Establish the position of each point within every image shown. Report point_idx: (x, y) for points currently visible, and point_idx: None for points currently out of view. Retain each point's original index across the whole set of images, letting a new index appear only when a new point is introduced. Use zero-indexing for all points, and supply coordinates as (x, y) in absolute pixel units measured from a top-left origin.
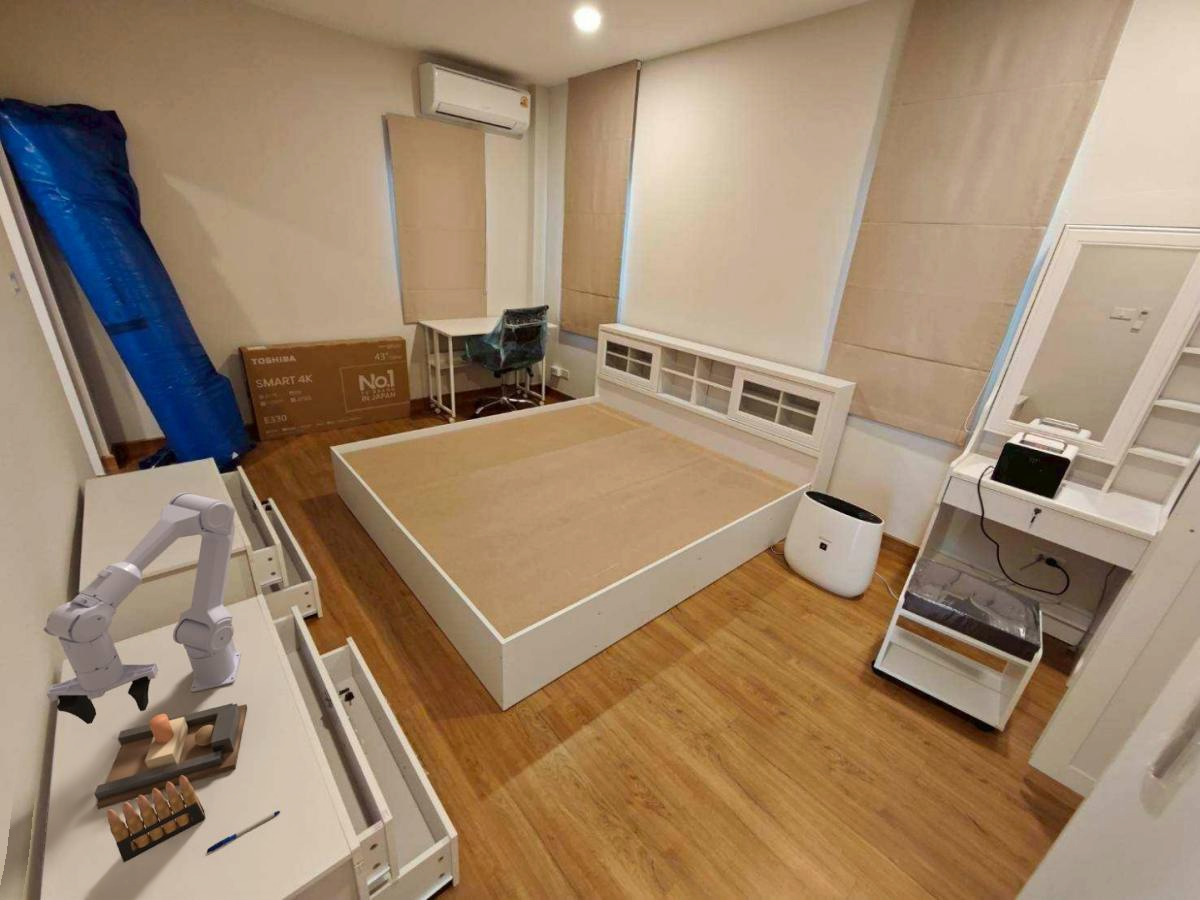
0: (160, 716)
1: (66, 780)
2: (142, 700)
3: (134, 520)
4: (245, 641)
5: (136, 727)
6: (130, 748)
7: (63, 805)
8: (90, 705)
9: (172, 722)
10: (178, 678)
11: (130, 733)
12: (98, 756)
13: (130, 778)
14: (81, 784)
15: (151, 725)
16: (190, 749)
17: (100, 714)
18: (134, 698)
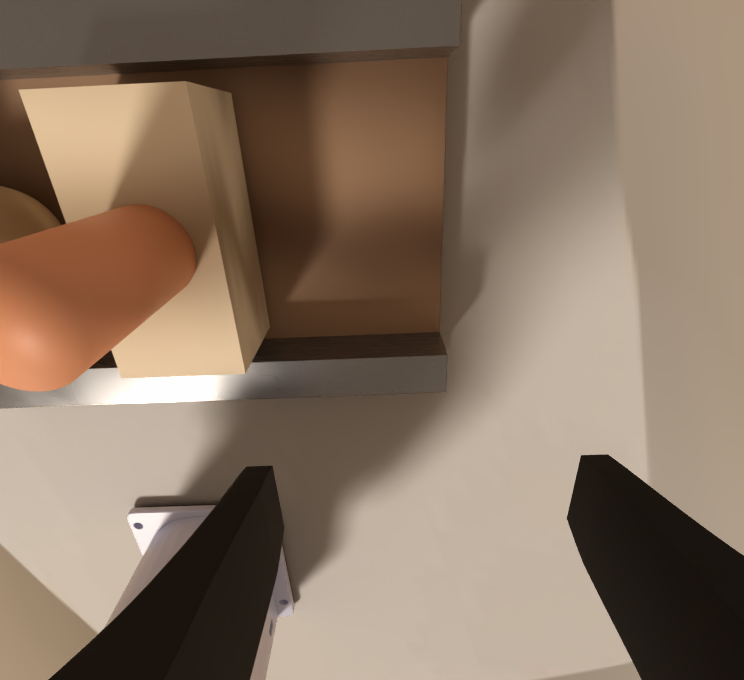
0: (17, 364)
1: (613, 226)
2: (148, 584)
3: None
4: None
5: (383, 393)
6: (394, 302)
7: (604, 74)
8: (632, 622)
9: (169, 358)
10: (343, 563)
11: (398, 367)
12: (517, 313)
13: (285, 31)
14: (552, 181)
15: (30, 275)
16: None
17: (551, 493)
18: (167, 658)
